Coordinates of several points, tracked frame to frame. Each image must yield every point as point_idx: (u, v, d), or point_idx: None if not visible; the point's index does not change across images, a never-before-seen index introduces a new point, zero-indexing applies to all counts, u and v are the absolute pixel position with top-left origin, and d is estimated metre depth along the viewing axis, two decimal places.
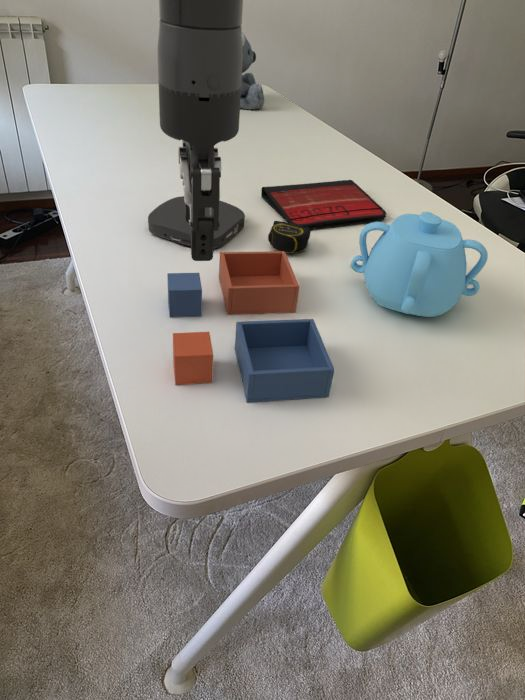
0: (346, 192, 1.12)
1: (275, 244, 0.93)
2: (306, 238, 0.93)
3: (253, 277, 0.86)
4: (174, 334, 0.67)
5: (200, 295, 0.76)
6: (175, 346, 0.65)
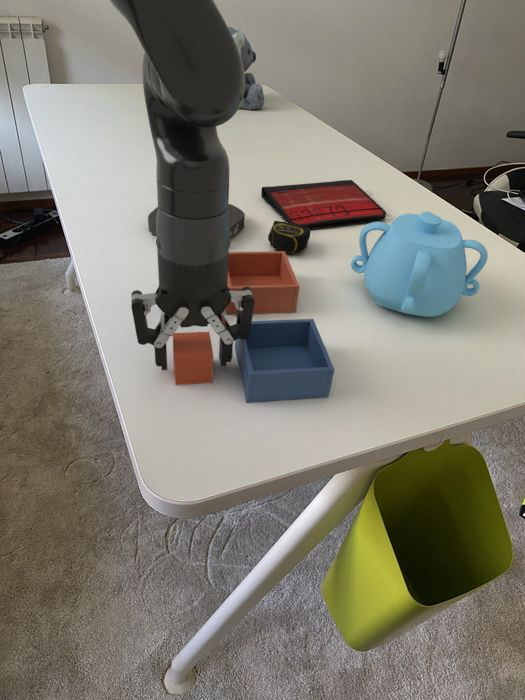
0: (346, 192, 1.12)
1: (275, 244, 0.93)
2: (306, 238, 0.93)
3: (253, 277, 0.86)
4: (174, 334, 0.67)
5: None
6: (175, 346, 0.65)
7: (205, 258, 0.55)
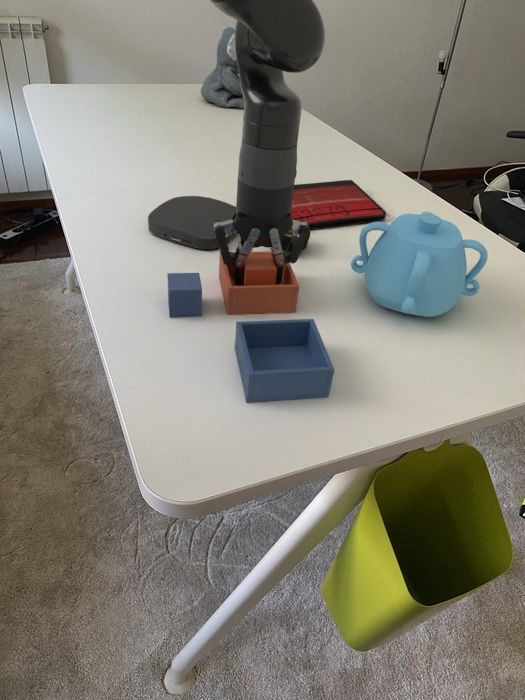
0: (346, 192, 1.12)
1: None
2: None
3: None
4: None
5: (200, 295, 0.76)
6: (245, 263, 0.79)
7: (279, 183, 0.69)
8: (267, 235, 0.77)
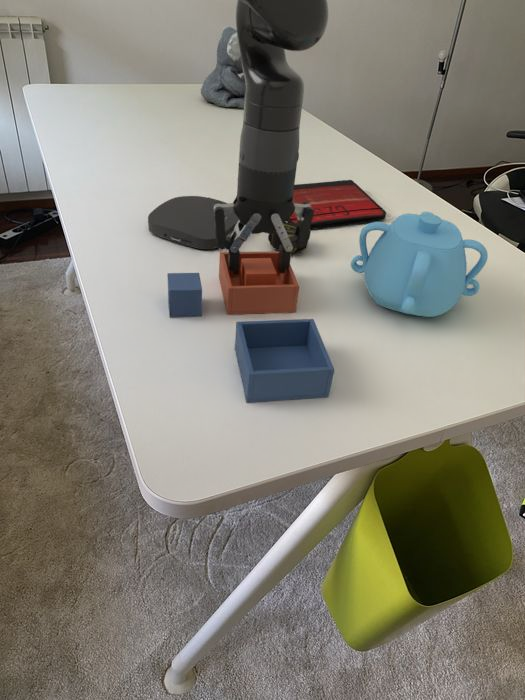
0: (346, 192, 1.12)
1: (275, 244, 0.93)
2: None
3: None
4: (242, 259, 0.82)
5: (200, 295, 0.76)
6: (245, 267, 0.80)
7: (281, 166, 0.68)
8: (268, 221, 0.75)
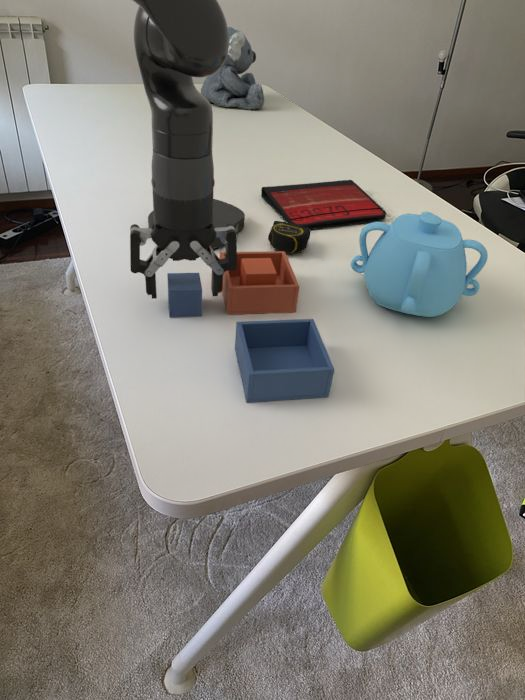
0: (346, 192, 1.12)
1: (275, 244, 0.93)
2: (306, 238, 0.93)
3: None
4: (242, 259, 0.82)
5: (200, 295, 0.76)
6: (245, 267, 0.80)
7: (192, 194, 0.65)
8: (189, 248, 0.72)
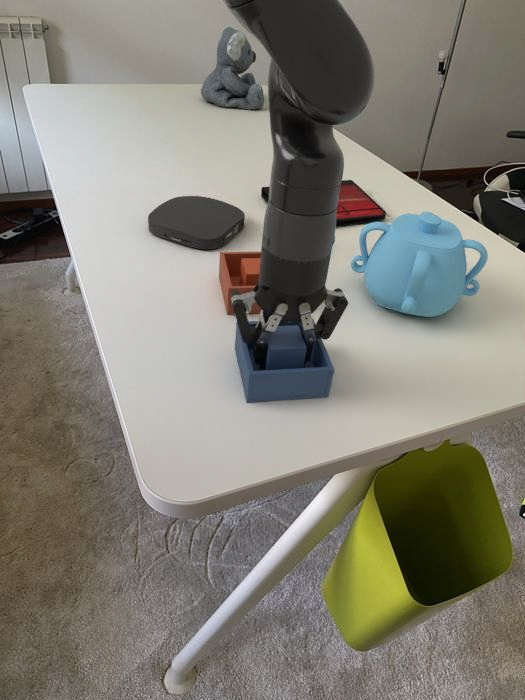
0: (346, 192, 1.12)
1: None
2: None
3: None
4: (242, 259, 0.82)
5: (304, 353, 0.66)
6: (245, 267, 0.80)
7: (314, 254, 0.56)
8: (296, 309, 0.63)
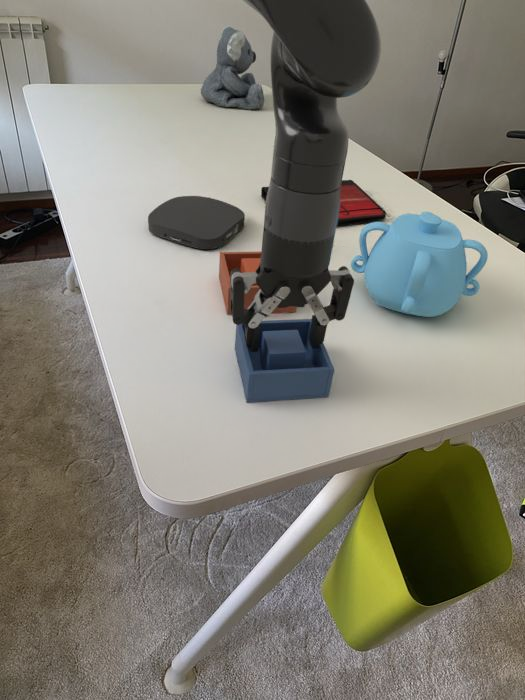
0: (346, 192, 1.12)
1: None
2: None
3: None
4: (242, 259, 0.82)
5: (303, 358, 0.66)
6: (245, 267, 0.80)
7: (318, 235, 0.54)
8: (298, 293, 0.61)
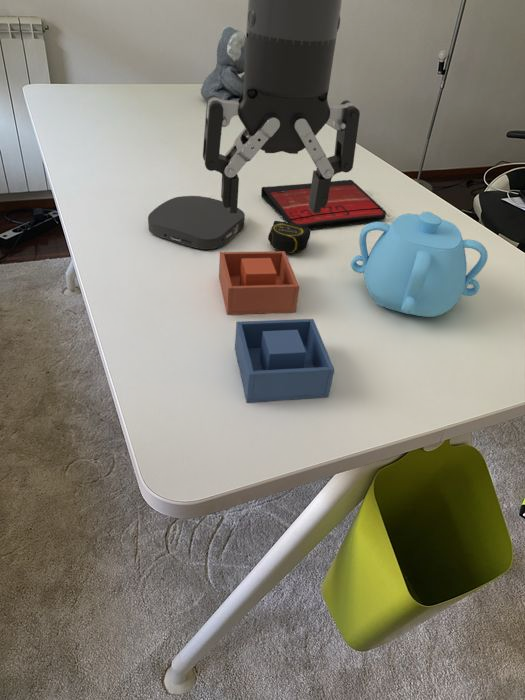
0: (346, 192, 1.12)
1: (275, 244, 0.93)
2: (306, 238, 0.93)
3: None
4: (242, 259, 0.82)
5: (303, 358, 0.66)
6: (245, 267, 0.80)
7: (314, 31, 0.43)
8: (291, 132, 0.50)
